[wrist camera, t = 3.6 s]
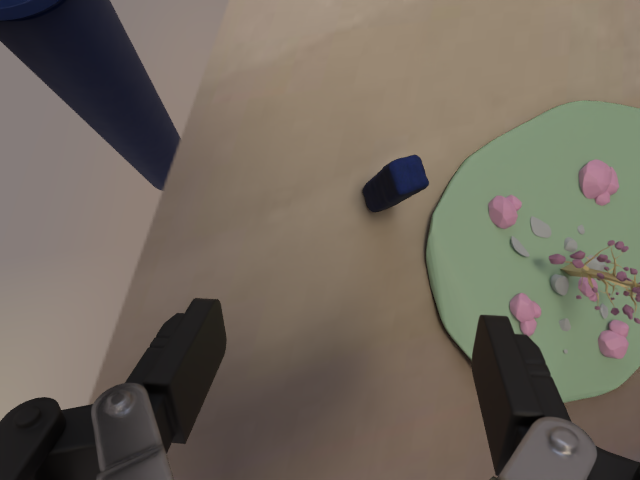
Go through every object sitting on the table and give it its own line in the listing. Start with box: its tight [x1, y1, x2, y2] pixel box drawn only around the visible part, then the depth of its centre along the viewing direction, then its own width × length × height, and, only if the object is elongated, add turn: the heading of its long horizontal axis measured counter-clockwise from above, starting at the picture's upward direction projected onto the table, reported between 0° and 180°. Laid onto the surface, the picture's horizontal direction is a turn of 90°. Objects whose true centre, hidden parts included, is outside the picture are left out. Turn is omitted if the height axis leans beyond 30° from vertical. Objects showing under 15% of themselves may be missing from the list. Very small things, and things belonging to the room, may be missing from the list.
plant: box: [426, 101, 640, 403], centre depth 30 cm, size 25×21×9 cm
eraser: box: [363, 155, 429, 212], centre depth 29 cm, size 2×2×7 cm
